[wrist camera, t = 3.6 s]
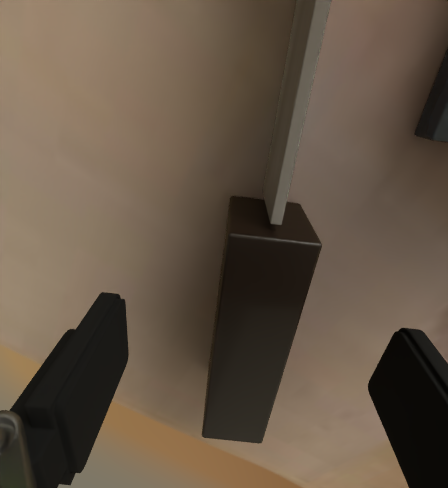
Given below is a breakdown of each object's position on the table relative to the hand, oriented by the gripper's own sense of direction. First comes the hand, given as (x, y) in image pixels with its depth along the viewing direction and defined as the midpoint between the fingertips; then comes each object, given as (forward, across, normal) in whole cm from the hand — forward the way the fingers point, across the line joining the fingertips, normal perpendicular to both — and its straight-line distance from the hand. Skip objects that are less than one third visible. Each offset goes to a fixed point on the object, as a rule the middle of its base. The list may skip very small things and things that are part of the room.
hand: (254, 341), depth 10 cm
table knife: (+2, 0, -5) cm, 6 cm away
